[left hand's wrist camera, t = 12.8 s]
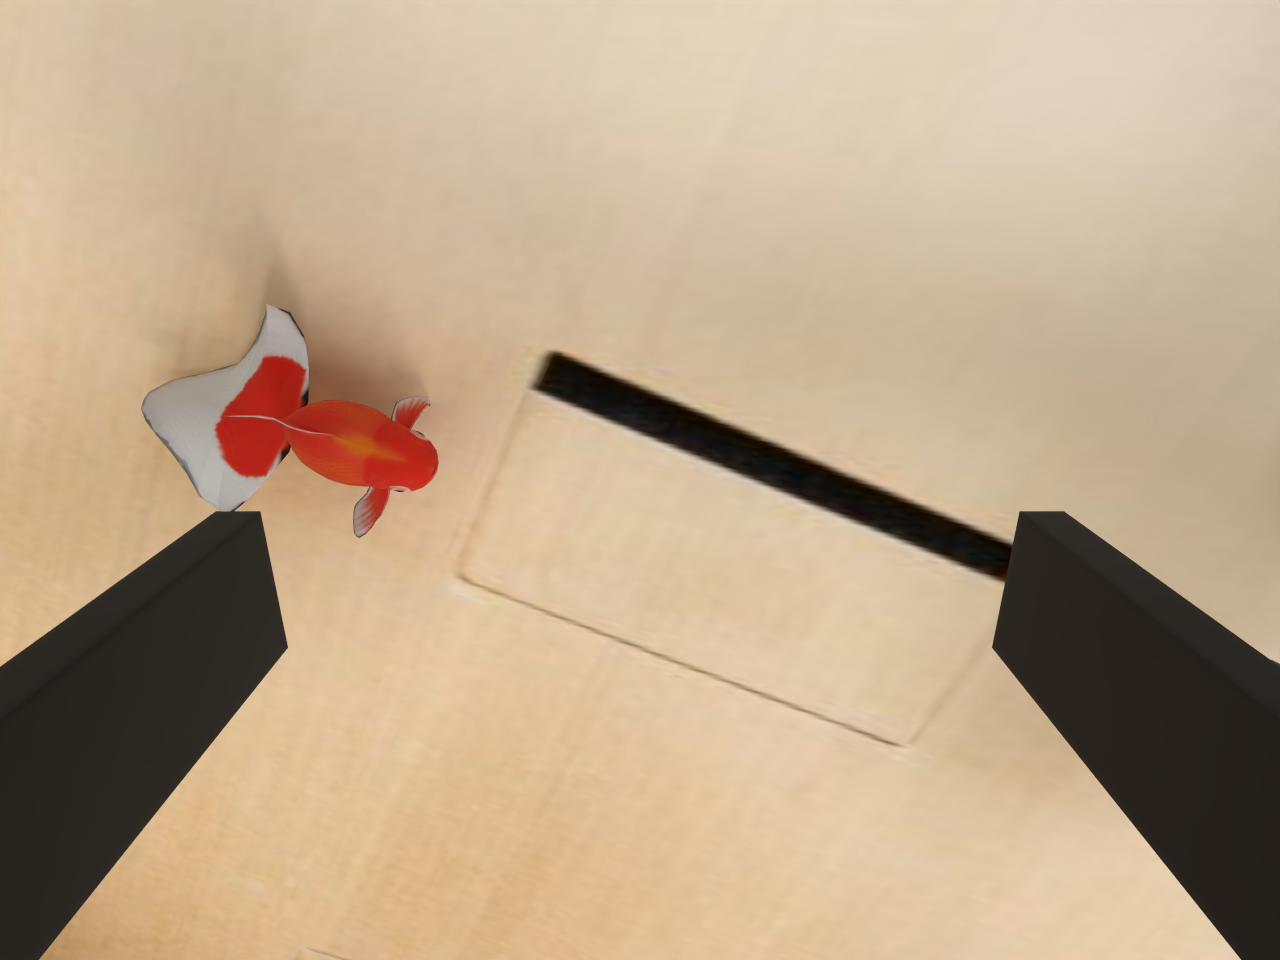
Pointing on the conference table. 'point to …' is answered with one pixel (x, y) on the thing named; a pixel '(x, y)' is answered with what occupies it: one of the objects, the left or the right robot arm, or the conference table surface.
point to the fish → (285, 428)
